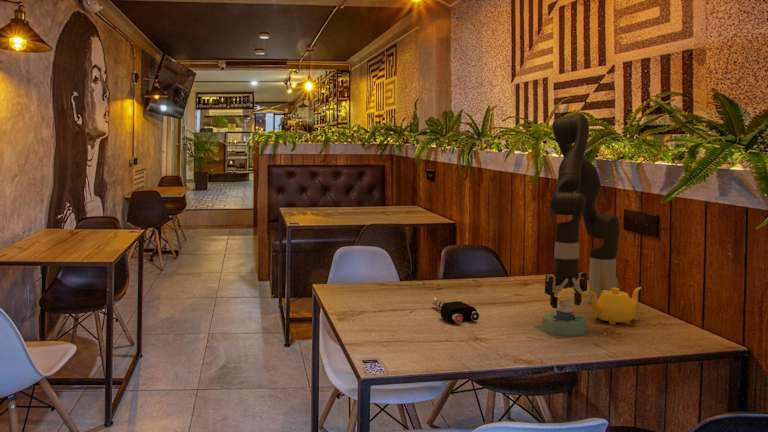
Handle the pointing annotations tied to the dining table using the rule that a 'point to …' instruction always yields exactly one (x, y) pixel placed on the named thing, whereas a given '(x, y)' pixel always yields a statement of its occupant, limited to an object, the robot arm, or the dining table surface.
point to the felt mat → (564, 336)
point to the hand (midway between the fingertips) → (565, 306)
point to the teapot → (615, 305)
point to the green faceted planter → (564, 325)
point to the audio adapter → (456, 311)
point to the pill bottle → (565, 310)
